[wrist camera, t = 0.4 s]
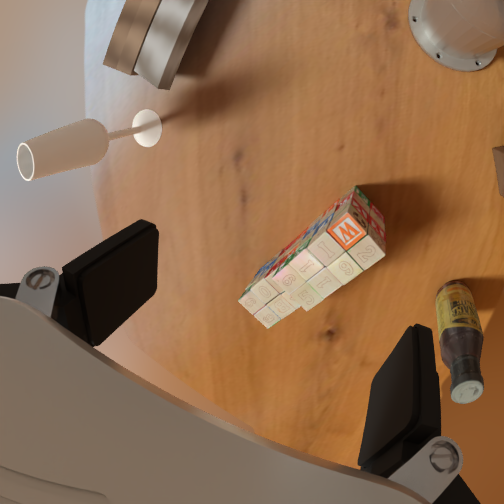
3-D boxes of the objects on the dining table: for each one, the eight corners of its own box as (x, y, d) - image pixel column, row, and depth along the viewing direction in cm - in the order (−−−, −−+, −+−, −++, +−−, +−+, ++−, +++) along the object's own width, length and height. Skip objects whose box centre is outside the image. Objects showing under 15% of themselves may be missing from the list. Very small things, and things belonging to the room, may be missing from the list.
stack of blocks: (285, 295, 53) (259, 342, 43) (258, 269, 53) (227, 312, 43) (385, 216, 41) (387, 256, 31) (355, 183, 41) (347, 212, 31)
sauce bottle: (476, 286, 39) (507, 382, 23) (456, 316, 42) (473, 415, 26) (444, 271, 40) (468, 368, 24) (425, 303, 44) (433, 403, 27)
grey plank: (185, -24, 34) (175, -27, 32) (219, -22, 29) (208, -26, 28) (144, 72, 44) (133, 70, 42) (169, 90, 39) (157, 88, 38)
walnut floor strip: (150, -33, 34) (143, -36, 32) (182, -29, 33) (175, -32, 32) (110, 64, 45) (102, 64, 44) (138, 75, 44) (130, 75, 43)
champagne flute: (142, 153, 51) (27, 197, 31) (126, 122, 49) (9, 154, 30) (168, 134, 48) (44, 171, 28) (150, 101, 46) (25, 123, 26)
